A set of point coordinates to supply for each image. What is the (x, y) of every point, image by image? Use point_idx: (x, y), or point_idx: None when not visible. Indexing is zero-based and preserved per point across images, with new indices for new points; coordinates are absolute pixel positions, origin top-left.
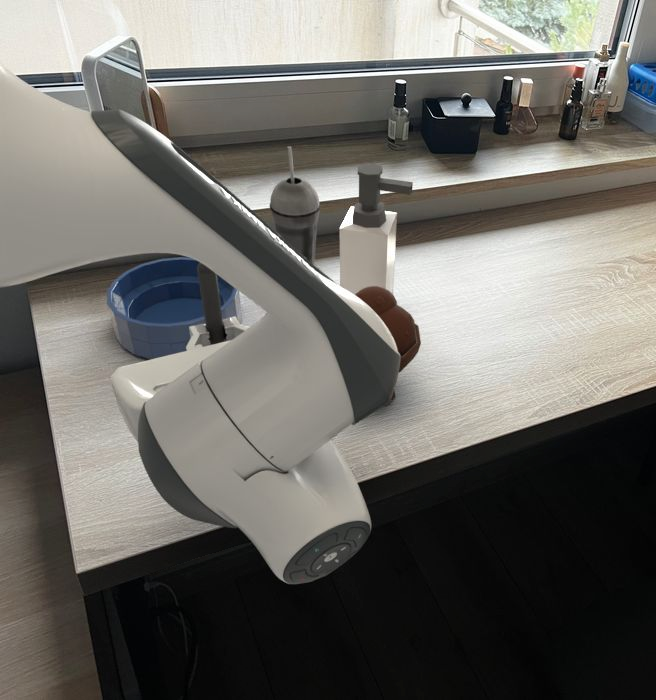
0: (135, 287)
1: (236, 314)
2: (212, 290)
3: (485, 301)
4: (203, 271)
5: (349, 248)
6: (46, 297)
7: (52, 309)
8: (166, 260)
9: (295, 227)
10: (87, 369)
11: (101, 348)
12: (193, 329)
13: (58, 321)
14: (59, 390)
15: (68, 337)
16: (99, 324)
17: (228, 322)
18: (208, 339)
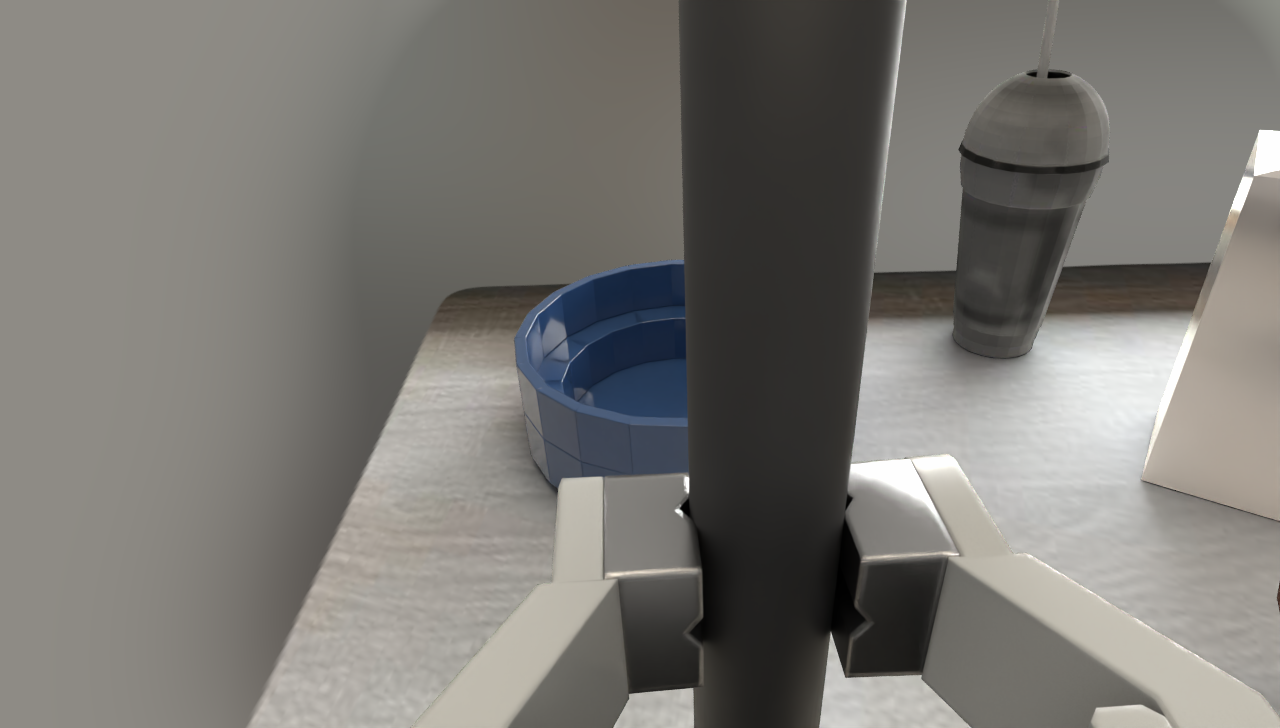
0: (603, 318)
1: None
2: (826, 77)
3: None
4: None
5: (1269, 254)
6: (449, 322)
7: (445, 346)
8: (682, 263)
9: (1029, 205)
10: (434, 499)
11: (489, 449)
12: (580, 514)
13: (442, 371)
14: (345, 544)
15: (440, 410)
16: (513, 391)
17: (895, 504)
18: (690, 632)
